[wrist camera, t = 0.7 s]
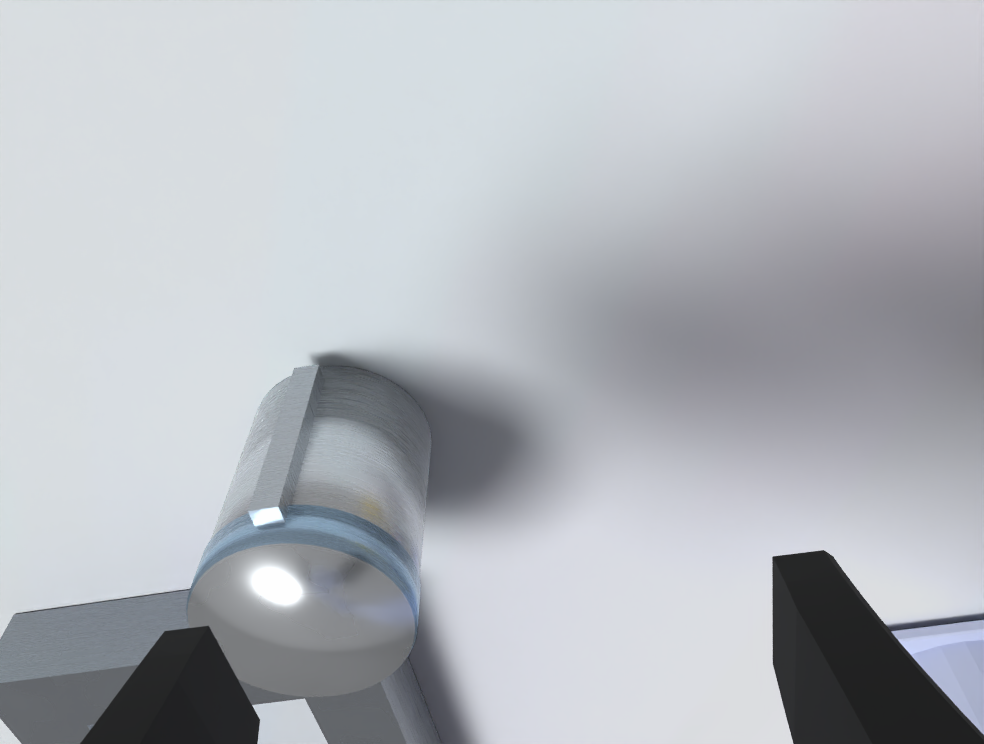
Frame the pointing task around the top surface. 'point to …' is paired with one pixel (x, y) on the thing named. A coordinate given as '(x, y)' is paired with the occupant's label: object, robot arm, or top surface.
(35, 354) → the top surface
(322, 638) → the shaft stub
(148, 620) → the grey square frame
